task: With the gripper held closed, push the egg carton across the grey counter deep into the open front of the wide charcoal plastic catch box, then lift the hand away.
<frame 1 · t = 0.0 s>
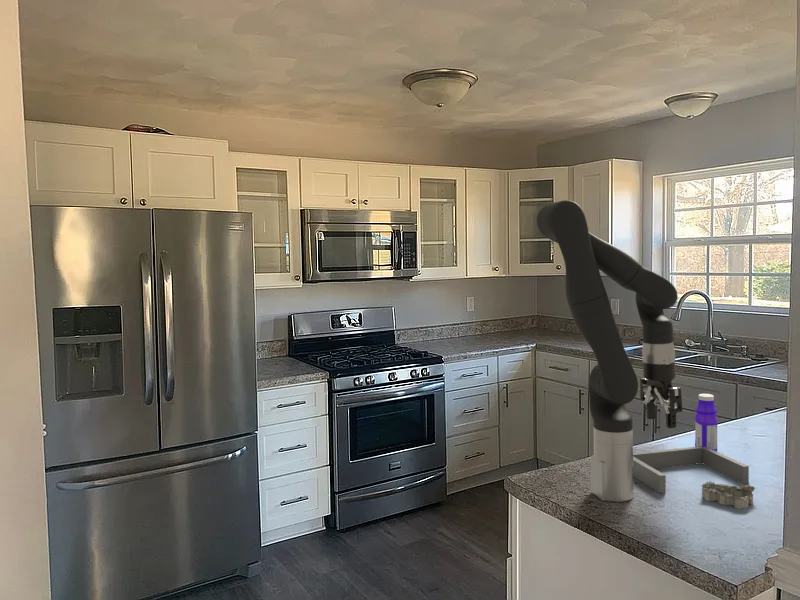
hand: (661, 423, 156), 17 cm above the counter, tool pointing down, fingers open, 8 cm apart
bottle: (706, 453, 184), on the counter
egg carton: (726, 502, 150), on the counter
catch box: (685, 477, 165), on the counter
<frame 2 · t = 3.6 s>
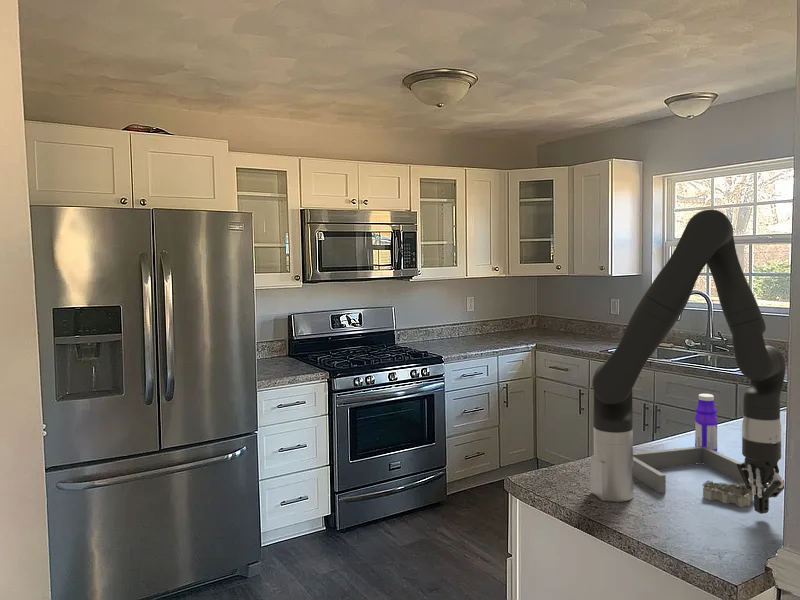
hand: (761, 512, 139), 2 cm above the counter, tool pointing down, fingers closed
egg carton: (727, 500, 150), on the counter
everything else where it was.
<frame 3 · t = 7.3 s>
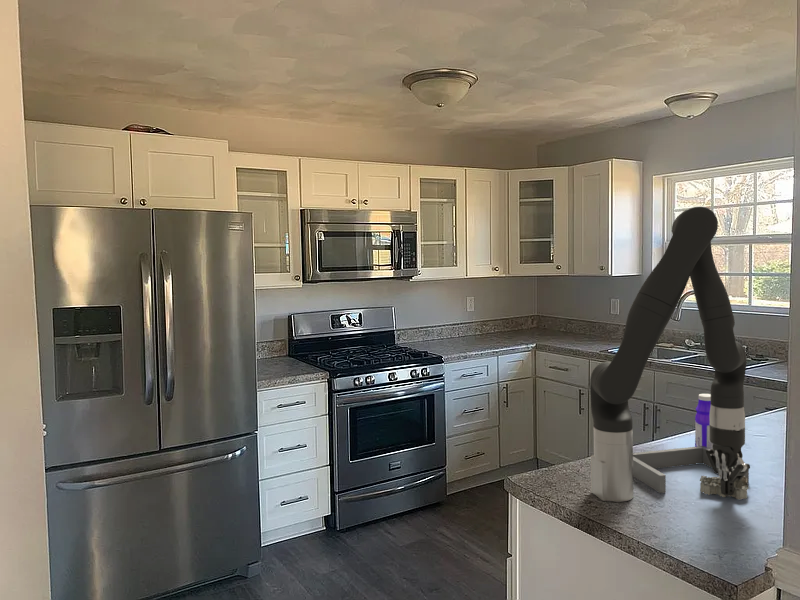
hand: (727, 494, 149), 2 cm above the counter, tool pointing down, fingers closed
egg carton: (723, 494, 154), on the counter, touching gripper
everything else where it was.
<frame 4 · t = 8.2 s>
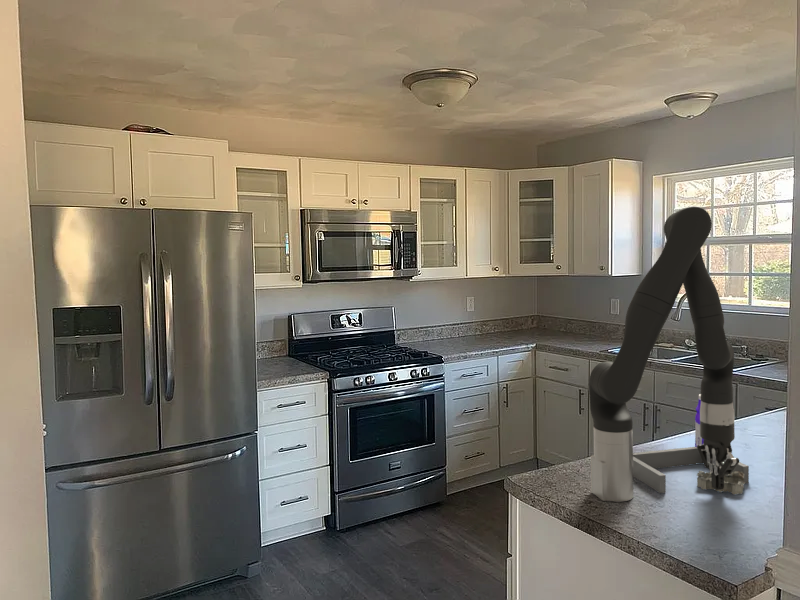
hand: (717, 488, 153), 2 cm above the counter, tool pointing down, fingers closed
egg carton: (720, 488, 157), on the counter
everything else where it was.
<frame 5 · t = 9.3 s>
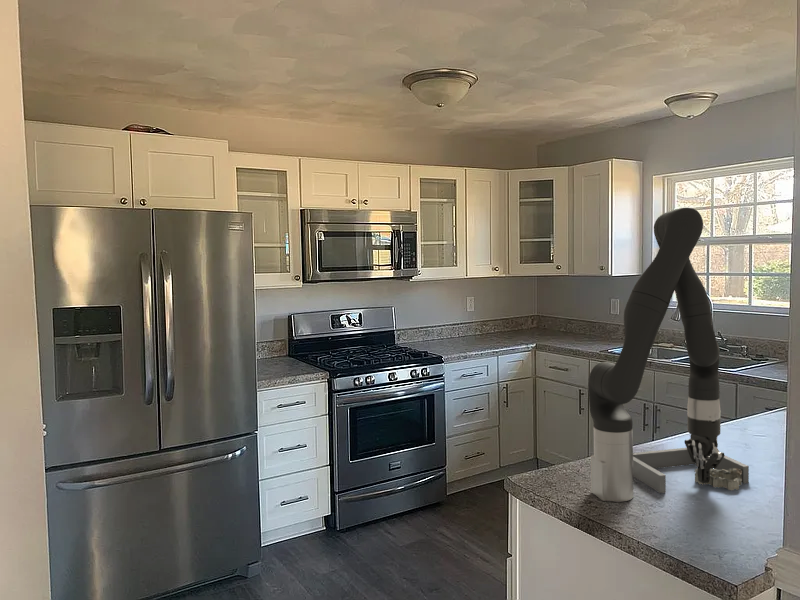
hand: (703, 481, 157), 2 cm above the counter, tool pointing down, fingers closed
egg carton: (717, 485, 160), on the counter
everything else where it was.
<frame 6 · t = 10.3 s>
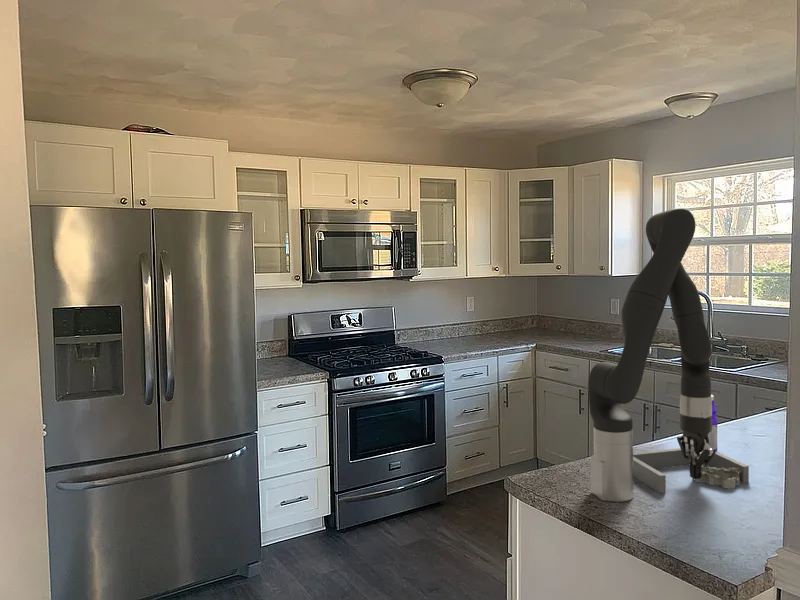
hand: (695, 477, 160), 1 cm above the counter, tool pointing down, fingers closed
egg carton: (715, 483, 162), on the counter, touching gripper
everything else where it was.
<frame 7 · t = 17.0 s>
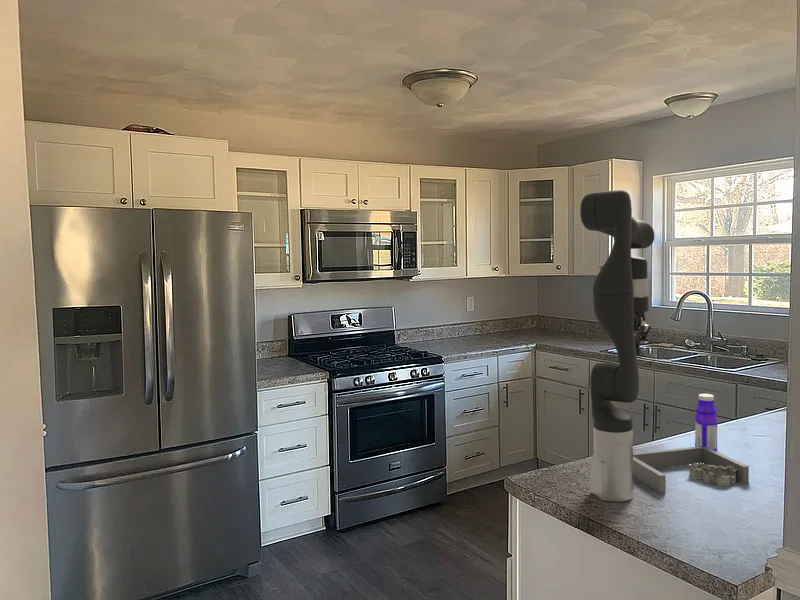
hand: (634, 355, 176), 31 cm above the counter, tool pointing down, fingers closed
egg carton: (712, 480, 163), on the counter
everything else where it was.
at the end: egg carton inside the target area on the catch box (7.0 cm from its centre), point -0.5 cm above the catch box's base; egg carton moved 14.4 cm from its start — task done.
